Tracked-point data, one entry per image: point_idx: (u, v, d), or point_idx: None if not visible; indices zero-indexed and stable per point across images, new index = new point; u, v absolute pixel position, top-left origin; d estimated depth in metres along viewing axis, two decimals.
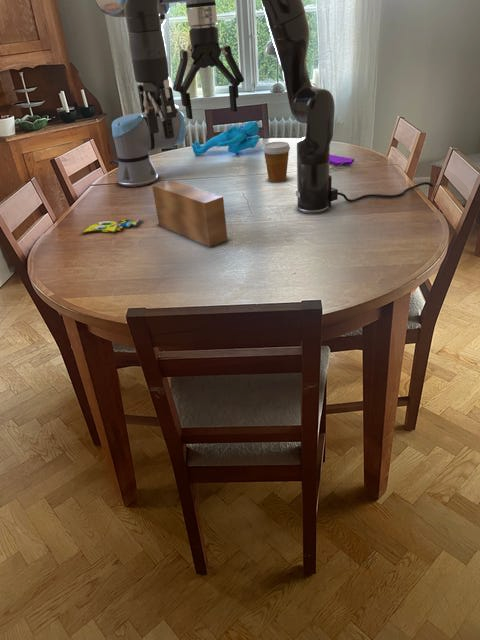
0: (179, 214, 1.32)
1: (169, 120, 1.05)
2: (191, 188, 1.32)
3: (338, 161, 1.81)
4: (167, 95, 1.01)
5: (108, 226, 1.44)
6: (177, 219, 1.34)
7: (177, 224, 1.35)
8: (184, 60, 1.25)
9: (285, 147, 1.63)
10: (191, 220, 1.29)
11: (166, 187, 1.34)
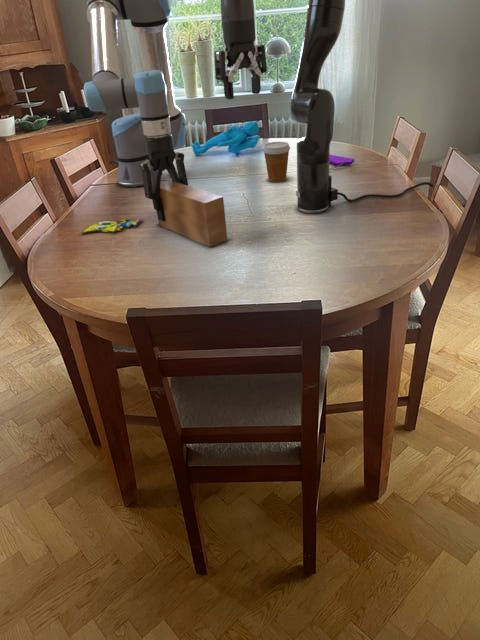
0: (179, 214, 1.32)
1: (224, 82, 1.13)
2: (191, 188, 1.32)
3: (338, 161, 1.81)
4: (217, 58, 1.09)
5: (108, 226, 1.44)
6: (177, 219, 1.34)
7: (177, 224, 1.35)
8: (147, 171, 1.30)
9: (285, 147, 1.63)
10: (191, 220, 1.29)
11: (166, 187, 1.34)
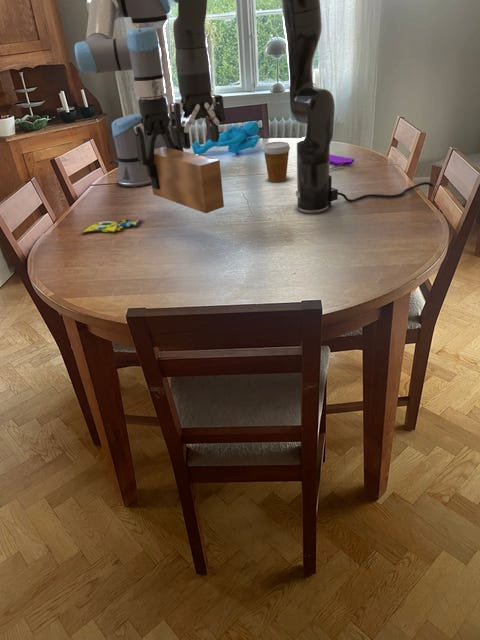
0: (173, 180, 1.27)
1: (180, 132, 1.12)
2: (186, 153, 1.27)
3: (338, 161, 1.81)
4: (172, 109, 1.09)
5: (108, 226, 1.44)
6: (172, 186, 1.29)
7: (172, 191, 1.30)
8: (140, 135, 1.25)
9: (285, 147, 1.63)
10: (186, 185, 1.24)
11: (160, 153, 1.29)
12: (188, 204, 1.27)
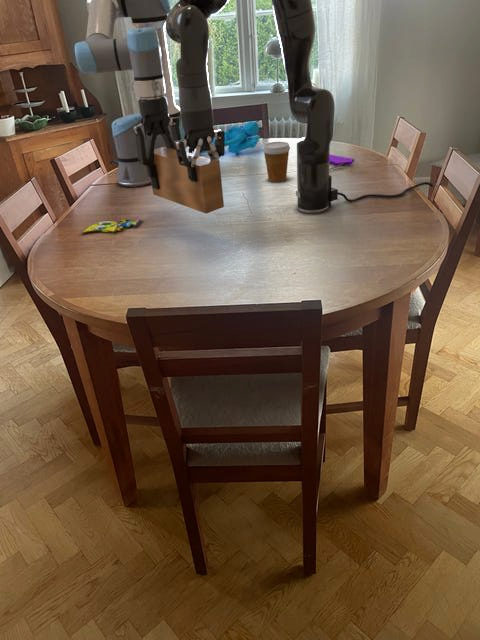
0: (173, 180, 1.27)
1: (188, 167, 1.17)
2: None
3: (338, 161, 1.81)
4: (177, 147, 1.13)
5: (108, 226, 1.44)
6: (172, 186, 1.29)
7: (172, 191, 1.30)
8: (140, 135, 1.25)
9: (285, 147, 1.63)
10: (186, 186, 1.24)
11: (160, 153, 1.29)
12: (188, 204, 1.27)
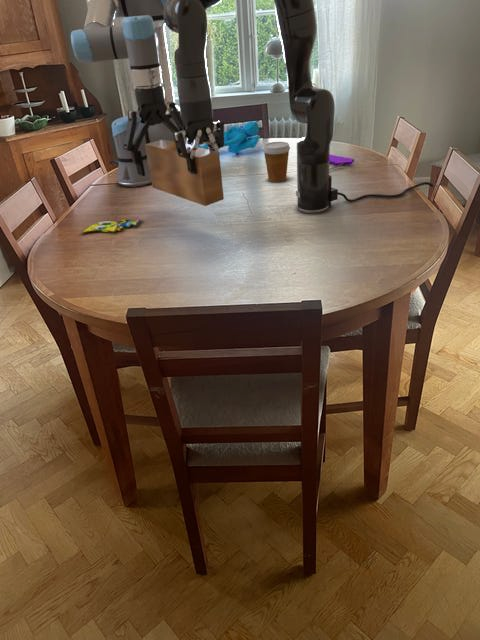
0: (173, 173, 1.26)
1: (187, 159, 1.16)
2: None
3: (338, 161, 1.81)
4: (176, 139, 1.12)
5: (108, 226, 1.44)
6: (172, 179, 1.28)
7: (171, 184, 1.29)
8: (133, 120, 1.24)
9: (285, 147, 1.63)
10: (186, 178, 1.23)
11: (159, 146, 1.28)
12: (188, 197, 1.26)
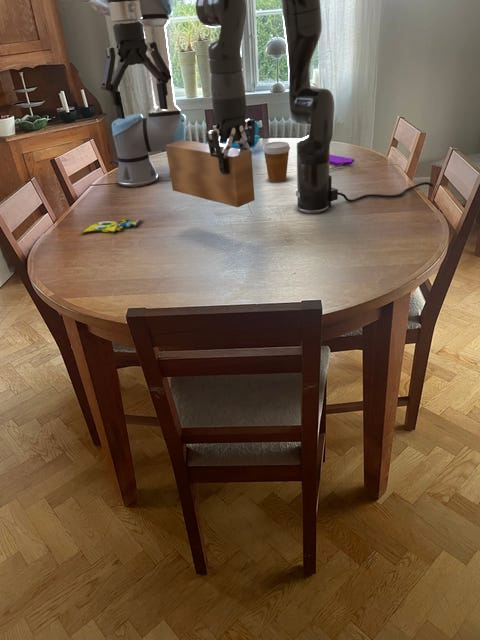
0: (199, 174, 1.21)
1: (220, 159, 1.11)
2: None
3: (338, 161, 1.81)
4: (210, 138, 1.07)
5: (108, 226, 1.44)
6: (197, 181, 1.23)
7: (196, 186, 1.24)
8: (112, 57, 1.19)
9: (285, 147, 1.63)
10: (215, 179, 1.17)
11: (183, 146, 1.22)
12: (216, 199, 1.21)
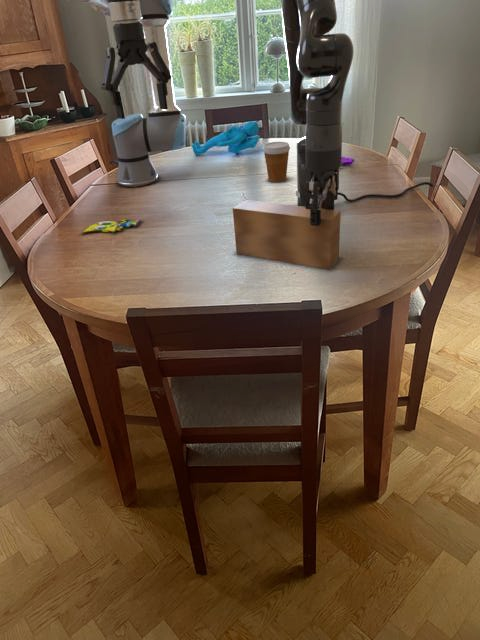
0: (279, 237, 1.14)
1: (314, 210, 1.03)
2: (287, 206, 1.14)
3: None
4: (310, 188, 1.00)
5: (108, 226, 1.44)
6: (275, 244, 1.15)
7: (273, 249, 1.16)
8: (112, 57, 1.19)
9: (285, 147, 1.63)
10: (302, 242, 1.11)
11: (256, 209, 1.15)
12: (300, 261, 1.14)
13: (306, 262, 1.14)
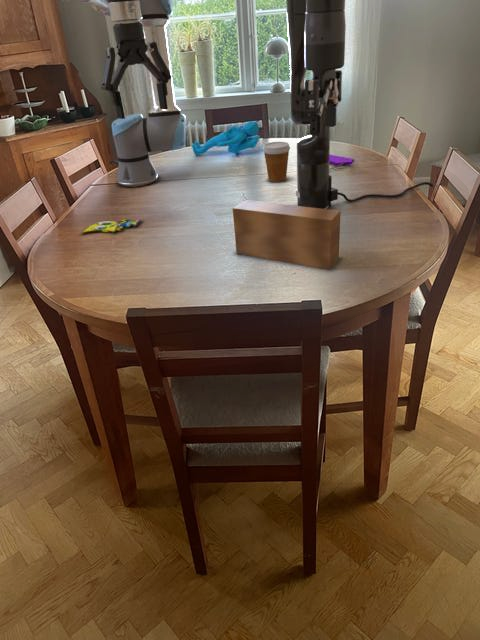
0: (279, 237, 1.14)
1: (313, 116, 0.93)
2: (287, 206, 1.14)
3: (338, 161, 1.81)
4: (310, 88, 0.89)
5: (108, 226, 1.44)
6: (275, 244, 1.15)
7: (273, 249, 1.16)
8: (112, 57, 1.19)
9: (285, 147, 1.63)
10: (302, 242, 1.11)
11: (256, 209, 1.15)
12: (300, 261, 1.14)
13: (306, 262, 1.14)
